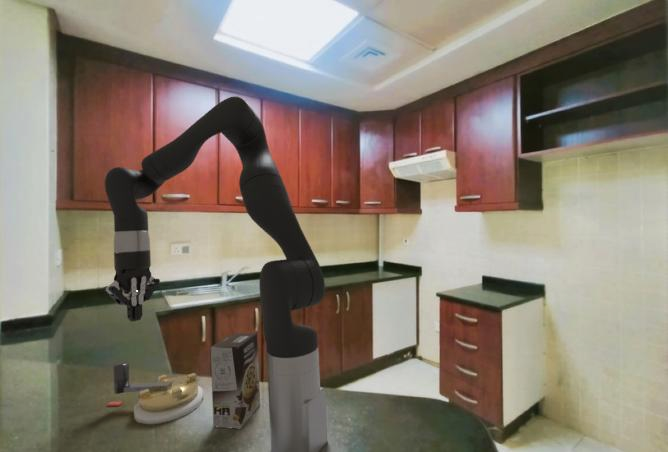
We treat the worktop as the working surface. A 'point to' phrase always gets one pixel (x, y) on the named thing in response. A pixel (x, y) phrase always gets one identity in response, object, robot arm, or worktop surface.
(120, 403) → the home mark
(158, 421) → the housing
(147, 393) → the gold oval piece
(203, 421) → the worktop surface
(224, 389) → the coffee box
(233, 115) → the robot arm
